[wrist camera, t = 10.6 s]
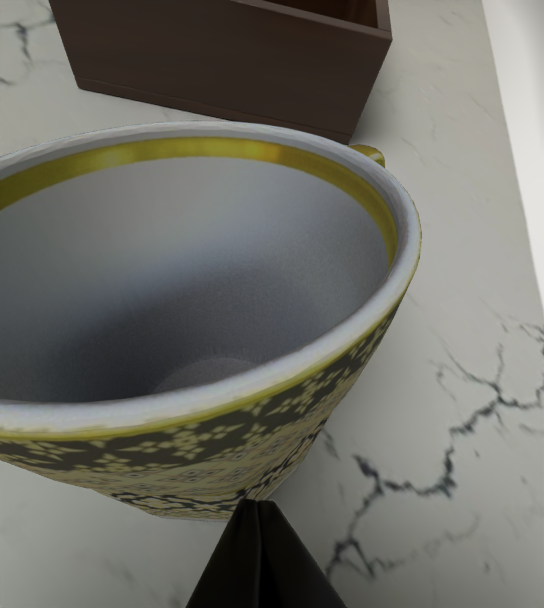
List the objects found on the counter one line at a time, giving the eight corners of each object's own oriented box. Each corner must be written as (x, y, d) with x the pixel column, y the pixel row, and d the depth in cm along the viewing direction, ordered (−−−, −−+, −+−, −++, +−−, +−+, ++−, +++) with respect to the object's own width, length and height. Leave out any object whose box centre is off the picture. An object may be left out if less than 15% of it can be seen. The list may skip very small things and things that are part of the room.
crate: (348, 145, 25) (393, 39, 19) (77, 88, 23) (30, -50, 17) (346, 29, 32) (379, -74, 26) (140, -21, 30) (122, -146, 24)
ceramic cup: (171, 700, 9) (-218, 801, 2) (45, 423, 14) (-171, 186, 7) (437, 394, 15) (574, 159, 8) (279, 284, 20) (281, 87, 14)
